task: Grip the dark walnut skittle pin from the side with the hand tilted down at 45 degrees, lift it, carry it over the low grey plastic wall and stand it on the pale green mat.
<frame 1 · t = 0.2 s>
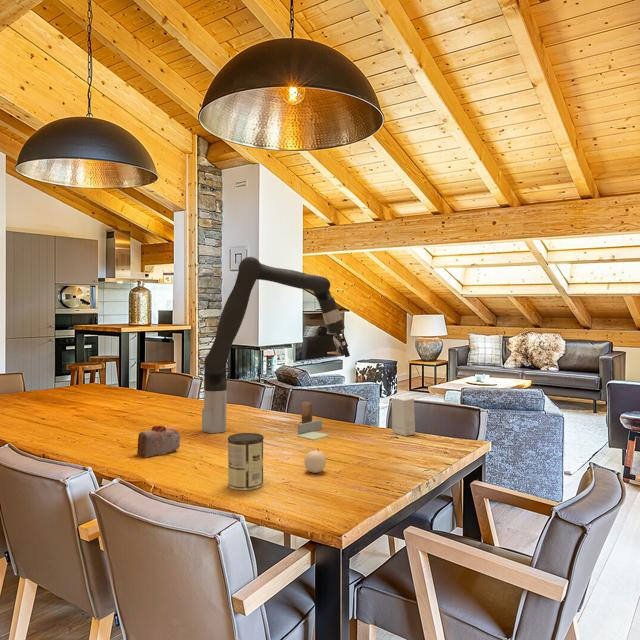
hand: (345, 355, 238), 31 cm above the table, fingers open, 8 cm apart
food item: (158, 454, 192), on the table
wall: (310, 431, 227), on the table
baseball: (315, 472, 171), on the table
pin: (306, 427, 236), on the table
skincare box: (403, 434, 225), on the table
coffee can: (245, 485, 157), on the table
mat: (313, 436, 220), on the table
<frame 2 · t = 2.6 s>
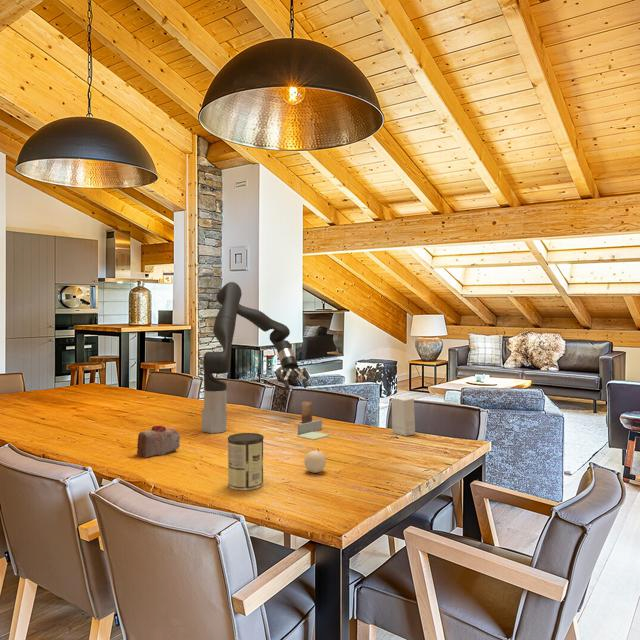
hand: (297, 387, 246), 16 cm above the table, fingers open, 8 cm apart
nothing on the table moved.
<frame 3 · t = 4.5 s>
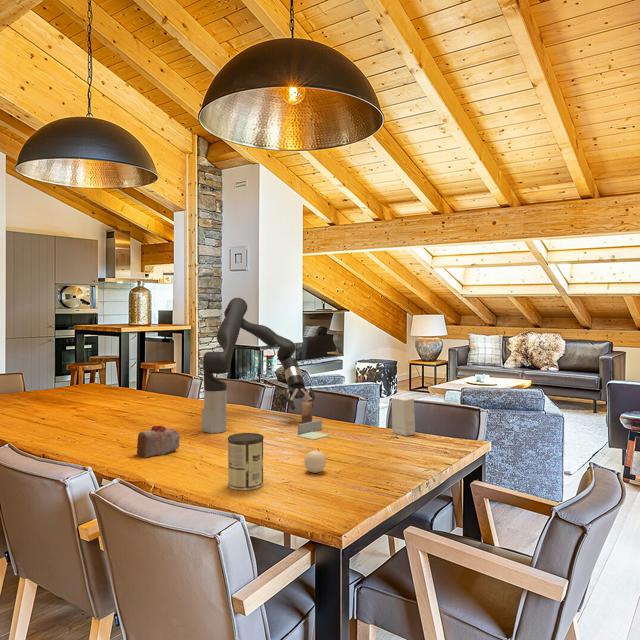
hand: (302, 408, 240), 7 cm above the table, fingers open, 8 cm apart
nothing on the table moved.
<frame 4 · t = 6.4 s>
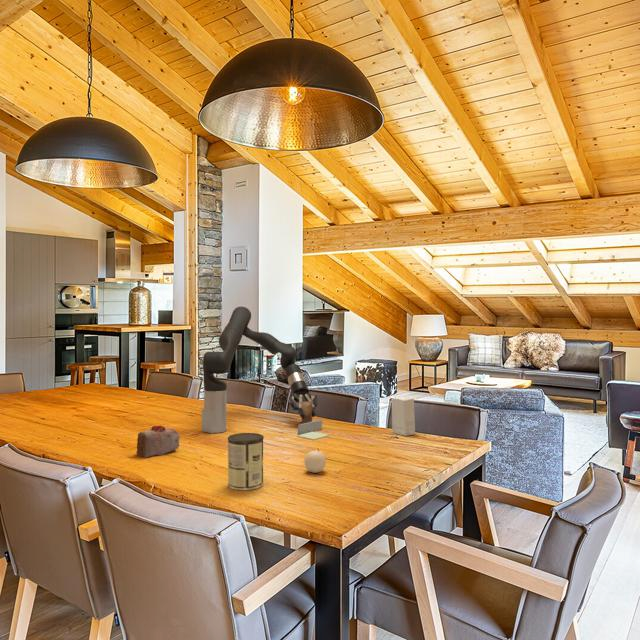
hand: (308, 416, 235), 5 cm above the table, fingers closed on pin, 4 cm apart
pin: (306, 427, 236), on the table, touching gripper
everything else where it was.
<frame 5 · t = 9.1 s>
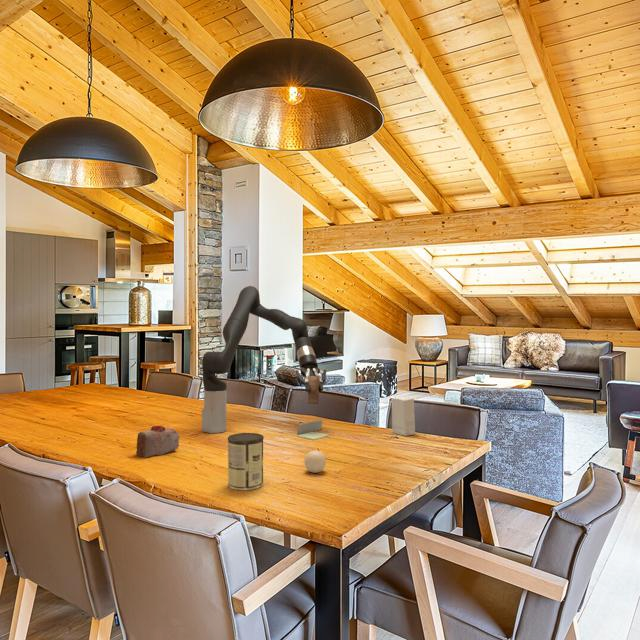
hand: (315, 391, 221), 18 cm above the table, fingers closed on pin, 4 cm apart
pin: (313, 403, 223), point 13 cm above the table, touching gripper
everything else where it was.
when the fingers open (6 cm above the table, at t = 12.1 s): pin stays where it is, resting on mat.
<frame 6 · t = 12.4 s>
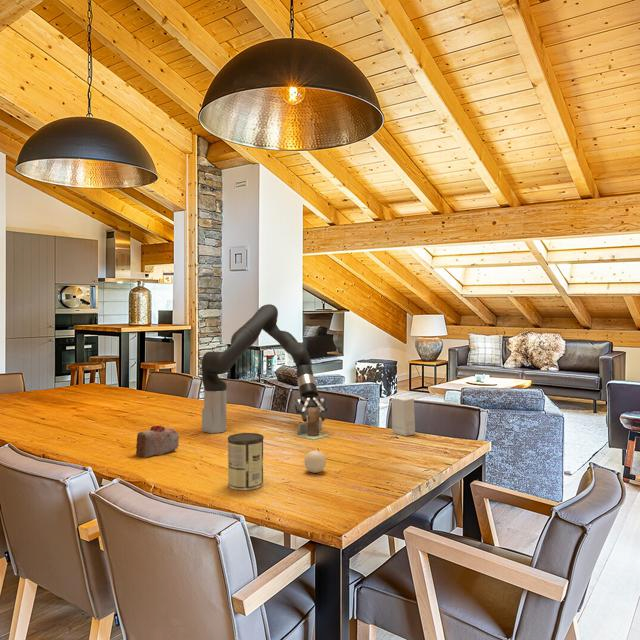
hand: (314, 420, 218), 7 cm above the table, fingers open, 6 cm apart
pin: (313, 435, 220), resting on mat
everything else where it was.
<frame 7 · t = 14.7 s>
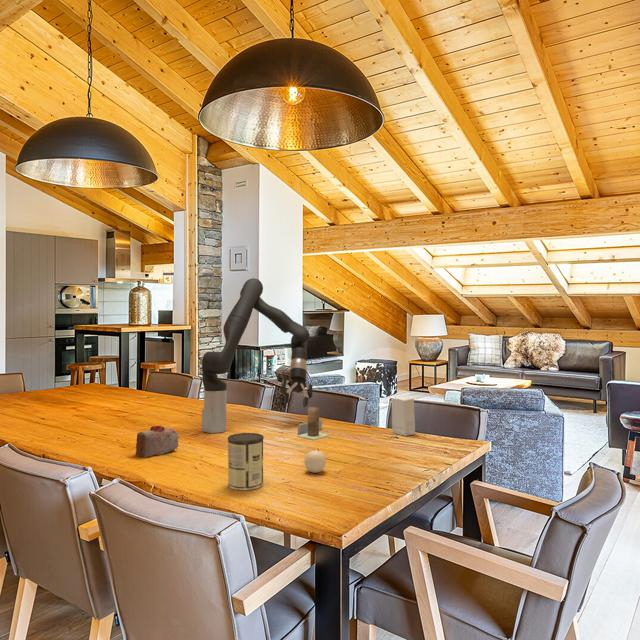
hand: (295, 404, 235), 10 cm above the table, fingers open, 8 cm apart
nothing on the table moved.
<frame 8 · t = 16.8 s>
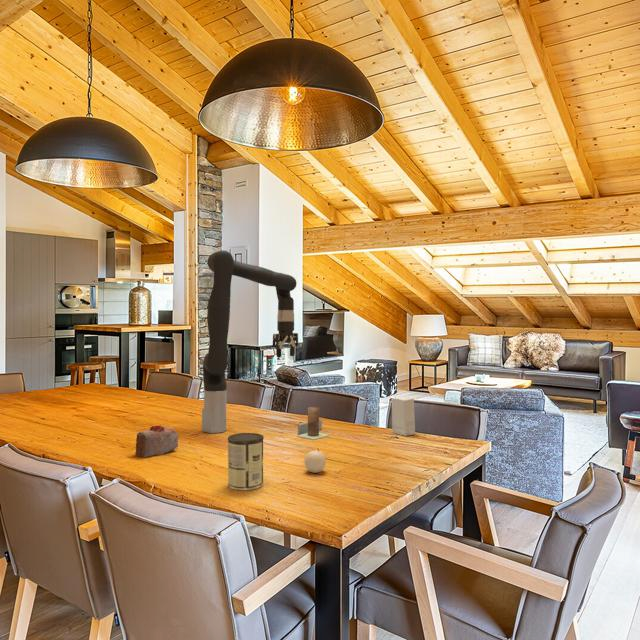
hand: (285, 356, 243), 30 cm above the table, fingers open, 8 cm apart
nothing on the table moved.
at the end: pin inside the target area on the mat (0.1 cm from its centre), point 0.4 cm above the mat's base; pin tilted 1°; the gripper is holding nothing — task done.
